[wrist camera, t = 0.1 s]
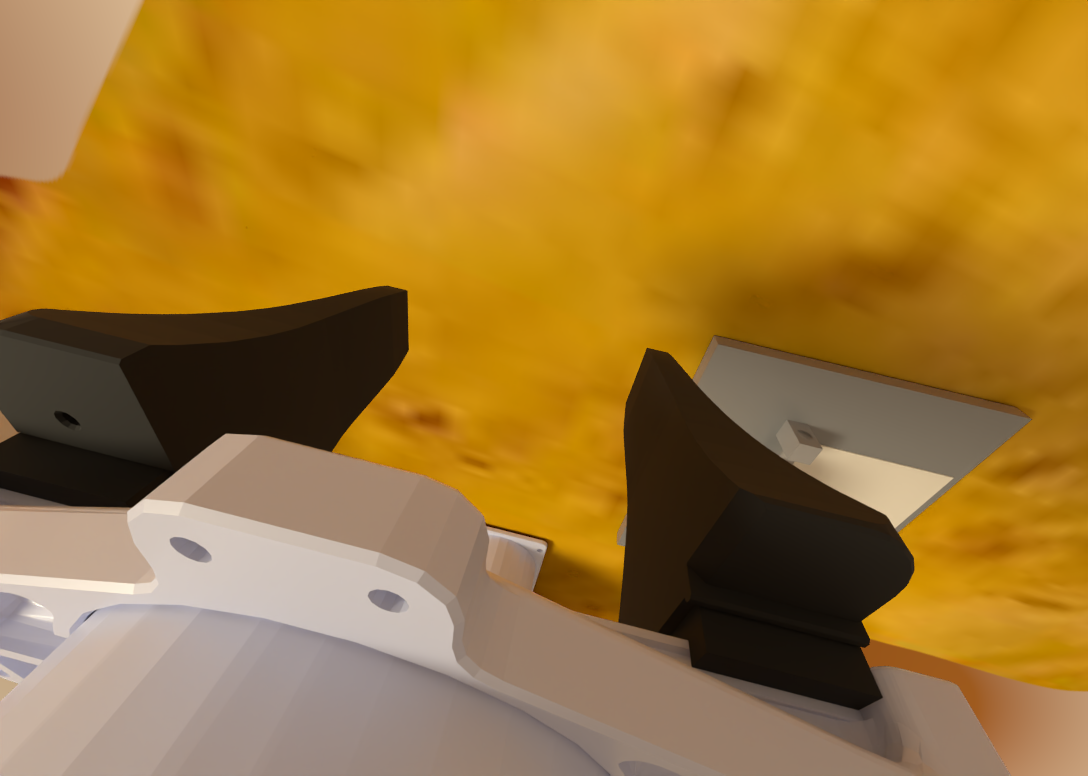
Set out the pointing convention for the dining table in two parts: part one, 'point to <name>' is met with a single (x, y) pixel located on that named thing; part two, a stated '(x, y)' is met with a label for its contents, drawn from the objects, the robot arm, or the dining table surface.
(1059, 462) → the dining table surface
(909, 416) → the grey flat piece
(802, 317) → the dining table surface
